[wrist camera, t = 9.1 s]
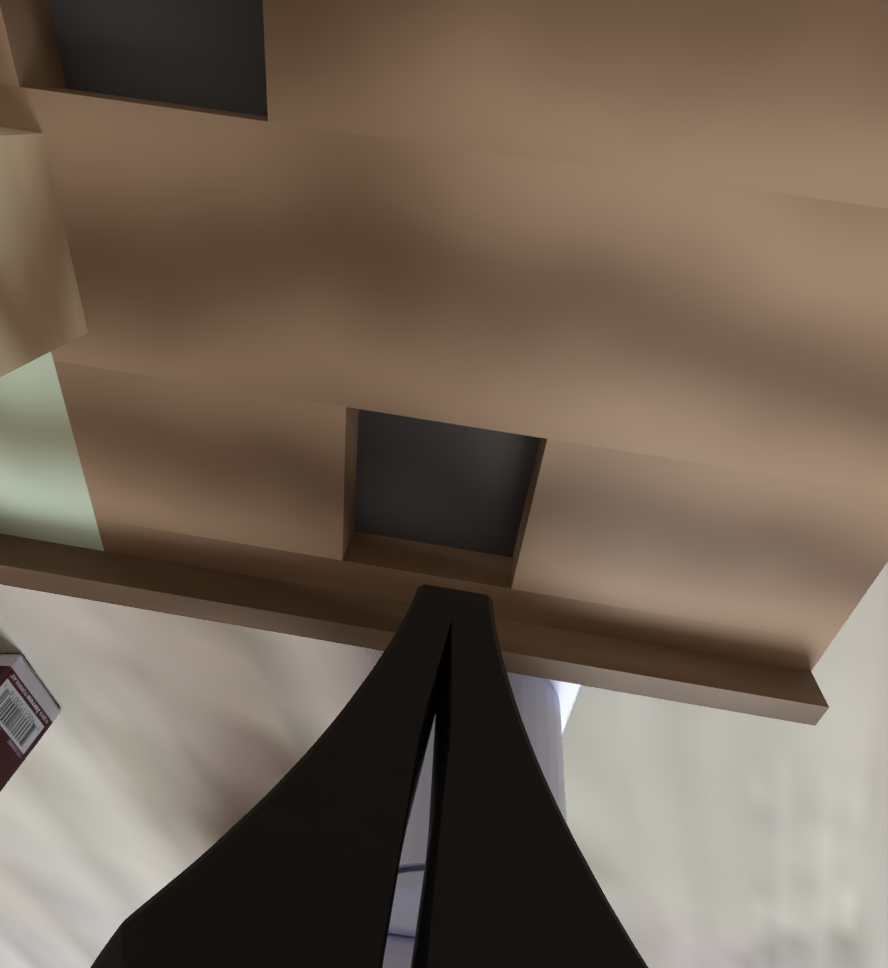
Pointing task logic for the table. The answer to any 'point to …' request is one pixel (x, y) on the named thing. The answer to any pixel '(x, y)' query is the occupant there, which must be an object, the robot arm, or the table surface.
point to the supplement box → (21, 713)
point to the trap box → (467, 325)
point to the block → (33, 256)
